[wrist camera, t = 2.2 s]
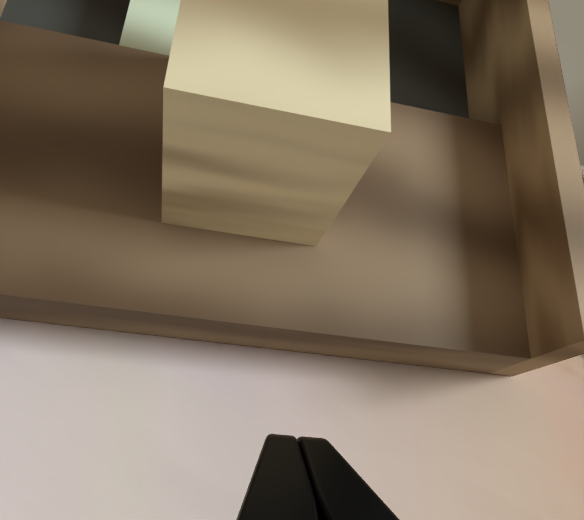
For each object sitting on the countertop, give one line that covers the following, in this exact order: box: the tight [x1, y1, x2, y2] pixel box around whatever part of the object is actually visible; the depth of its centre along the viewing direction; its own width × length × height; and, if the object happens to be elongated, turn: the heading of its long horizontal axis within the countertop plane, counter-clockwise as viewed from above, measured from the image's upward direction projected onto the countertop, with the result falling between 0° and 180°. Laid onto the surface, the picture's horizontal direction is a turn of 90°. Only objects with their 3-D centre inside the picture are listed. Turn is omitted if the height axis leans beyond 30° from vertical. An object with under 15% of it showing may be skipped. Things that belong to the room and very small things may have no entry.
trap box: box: [0, 0, 584, 376], centre depth 24 cm, size 24×26×6 cm
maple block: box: [162, 0, 391, 246], centre depth 19 cm, size 8×6×8 cm
